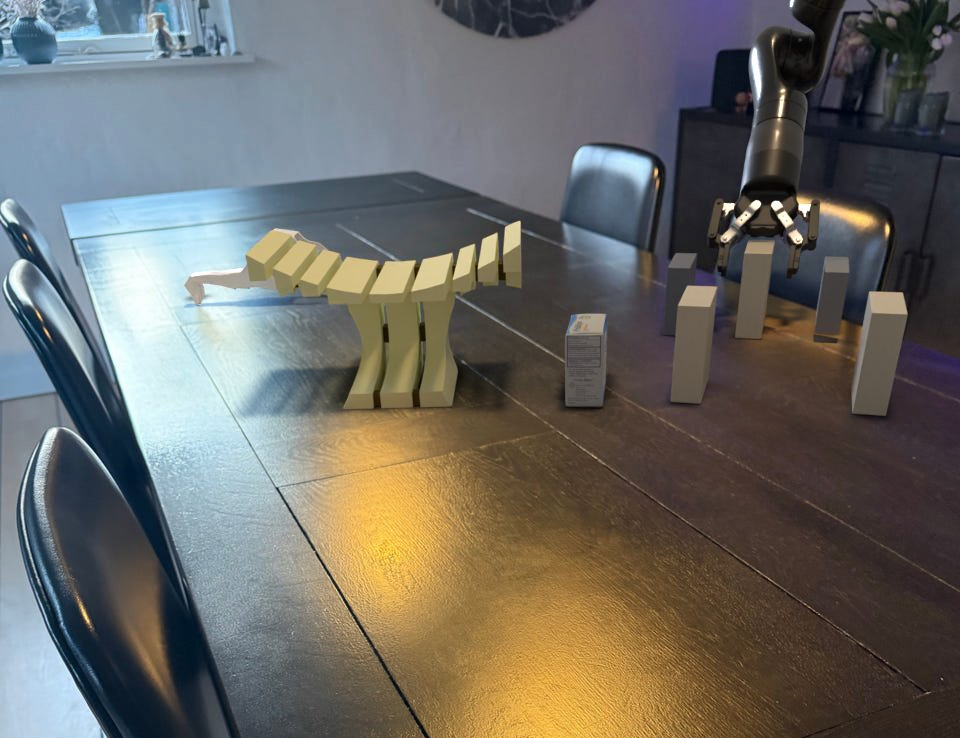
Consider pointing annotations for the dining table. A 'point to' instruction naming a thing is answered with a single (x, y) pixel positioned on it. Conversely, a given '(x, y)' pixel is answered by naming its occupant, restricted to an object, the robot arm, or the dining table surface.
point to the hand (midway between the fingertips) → (756, 274)
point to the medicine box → (585, 360)
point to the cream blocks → (871, 364)
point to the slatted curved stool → (392, 309)
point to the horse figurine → (236, 275)
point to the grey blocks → (827, 307)
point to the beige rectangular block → (754, 288)
